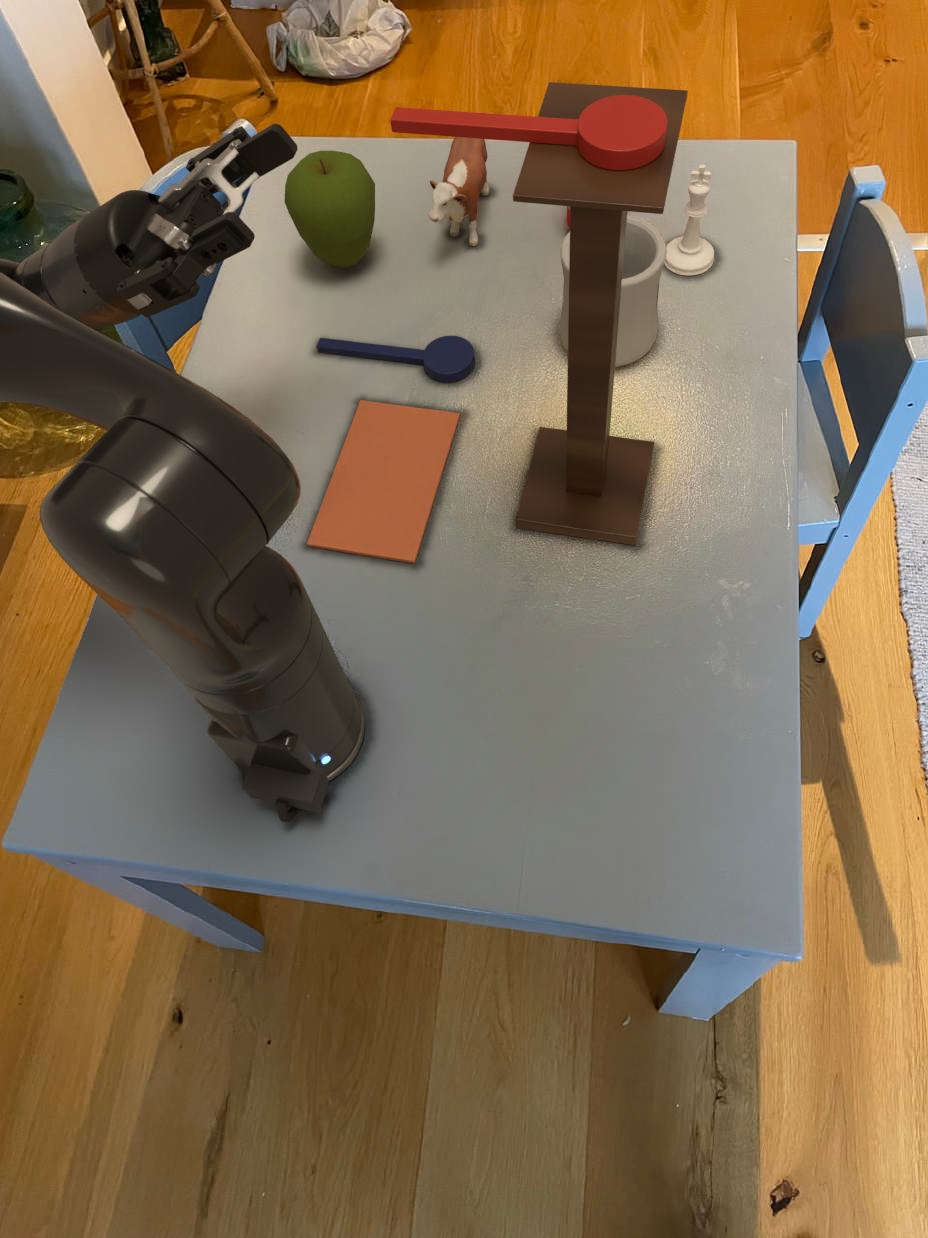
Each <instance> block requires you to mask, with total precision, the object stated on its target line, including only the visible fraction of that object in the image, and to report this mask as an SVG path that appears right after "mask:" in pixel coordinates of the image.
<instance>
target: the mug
mask: <svg viewBox="0 0 928 1238" xmlns="http://www.w3.org/2000/svg"><path fill="white" fill-rule="evenodd" d="M666 246H667V242H666V240H665V238H664V237H663V234H662V232H661V231H660V230H658V228H657V227H656V226H655V225H653V224H652V223H650V222H648V221H646V220H645V219H643V218H641V217H638V216H634V215H631V214H627V222H626V234H625V247H624V260H623V272H622V285H621V297H620V310H619V322H618V335H617V347H616V360H615V368H618V367H621V366H627V365H631V364H632V363H634V362H636V361H638V360H640V359H641V358H643V356H645V355H646V354H647V353H648V352H650V351H651V348H652V347H653V345H654V344H655V342H656V339H657V335H658V331H659V313H658V299H659V291H660V290H659V289H660V279H661V277H662V272H663V268H664V266H665V264H664V261H665V257H666V254H667V250H666ZM569 257H570V231H569V232H568V233H567V234H566V236H565V237H564V238H563V241H562V243H561V247H560V261H561V269H562V276H563V297H562V305H561V311H560V315H559V323H558V324H559V325H558V329H559V331H558V332H559V338H560V341H561V343H562V345H563V348H564V349H565V350H566V352H568V316H569Z"/></svg>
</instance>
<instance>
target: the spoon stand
mask: <svg viewBox="0 0 928 1238" xmlns="http://www.w3.org/2000/svg"><path fill="white" fill-rule="evenodd" d="M688 93H689V91H688V90H685V89H672V88H671V89H670V88H655V87H654V88H653V87H636V86H620V85H603V84H589V83H588V84H586V83H571V82H570V83H569V82H555V81H554V82H553V81H549V82H548V84H547V87H546V90H545V93H544V97H543V99H542V102H541V105H540V109H539V112H538V115H537V117H548V118H563V119H579V117H580V115H581V113H582V112H583V111H584V110H585V109H586V108H587V107H588V106H589V105H591V104H592V103H594V102H596V101H598V100H600V99H603V98H606V97H611V96H617V95H632V96H639V97H643V98H646V99H649V100H651V101H653V102H655V103H656V104H658V105H659V106H660V107H661V108H662V109H663V110H664V112H665V114H666V116H667V120H668V125H667V134H666V143H665V147H664V149H663V151H662V153H661V154H660V155H659V156H658V157H657V158H656V159H655V160H653V161H652V162H650V163H649V164H647V165H644V166H642V167H639V168H635V169H630V170H608V169H603V168H600V167H597V166H595V165H593V164H591V163H589V162H588V161H587V160H585V159H584V158H583V157H582V155H581V154H580V152H579V150H578V147H577V146H574V145H560V144H546V143H533V142H528V143H529V144H528V147H527V150H526V152H525V156H524V158H523V159H524V160H523V162H522V166H521V169H520V172H519V175H518V178H517V180H516V181H517V182H516V184H515V188H514V190H513V194H512V202H515V203H526V204H527V203H528V204H537V205H548V206H550V205H551V206H561V207H567V206H570V228H569V232H570V257H569V316H568V351H567V374H566V375H567V381H566V387H567V388H566V429H559V428H552V427H544V426H539V428H538V431H537V434H536V435H537V436H536V440H535V443H534V447H533V451H532V455H531V458H530V462H529V467H528V470H527V475H526V478H525V482H524V487H523V491H522V495H521V498H520V502H519V506H518V509H517V514H516V518H515V525H516V528H517V529H524V530H531V531H538V532H545V533H550V534H551V533H552V534H556V535H557V534H558V535H563V536H564V535H565V536H570V537H576V538H577V537H578V538H585V539H591V540H597V541H603V542H609V543H610V542H611V543H616V544H623V545H629V546H636V545H637V541H638V536H639V530H640V525H641V520H642V513H643V508H644V503H645V499H646V492H647V487H648V483H649V481H648V480H649V476H650V471H651V465H652V460H653V454H654V448H655V441H651V440H644V439H643V440H642V439H637V438H630V437H629V438H628V437H620V436H614V435H611V424H612V423H611V422H612V409H613V397H614V396H613V395H614V385H615V370H616V367H615V360H616V347H617V335H618V322H619V310H620V297H621V285H622V272H623V260H624V247H625V234H626V222H627V215H628V212H630V213H631V212H632V213H643V214H655V215H663V214H664V211H665V206H666V201H667V196H668V191H669V188H670V187H669V185H670V181H671V177H672V171H673V167H674V162H675V158H676V154H677V153H676V152H677V148H678V143H679V137H680V132H681V127H682V123H683V118H684V114H685V108H686V104H687V99H688Z"/></svg>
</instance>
